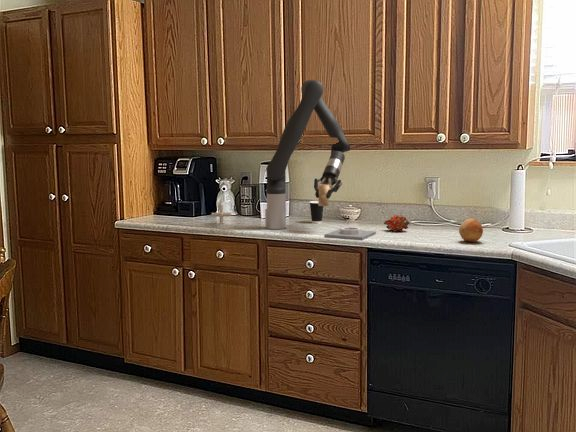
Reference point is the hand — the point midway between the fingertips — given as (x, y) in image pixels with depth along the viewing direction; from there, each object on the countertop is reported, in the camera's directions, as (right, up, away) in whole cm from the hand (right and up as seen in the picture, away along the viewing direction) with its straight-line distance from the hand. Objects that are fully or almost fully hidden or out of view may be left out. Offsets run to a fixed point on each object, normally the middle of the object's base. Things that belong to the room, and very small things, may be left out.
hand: (322, 197), depth 280 cm
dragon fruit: (+35, -16, +5) cm, 39 cm away
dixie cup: (-1, -13, +35) cm, 37 cm away
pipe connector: (-51, -13, +32) cm, 61 cm away
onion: (+62, -20, -25) cm, 69 cm away
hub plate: (+13, -18, -7) cm, 23 cm away
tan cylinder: (+1, -4, +2) cm, 5 cm away
